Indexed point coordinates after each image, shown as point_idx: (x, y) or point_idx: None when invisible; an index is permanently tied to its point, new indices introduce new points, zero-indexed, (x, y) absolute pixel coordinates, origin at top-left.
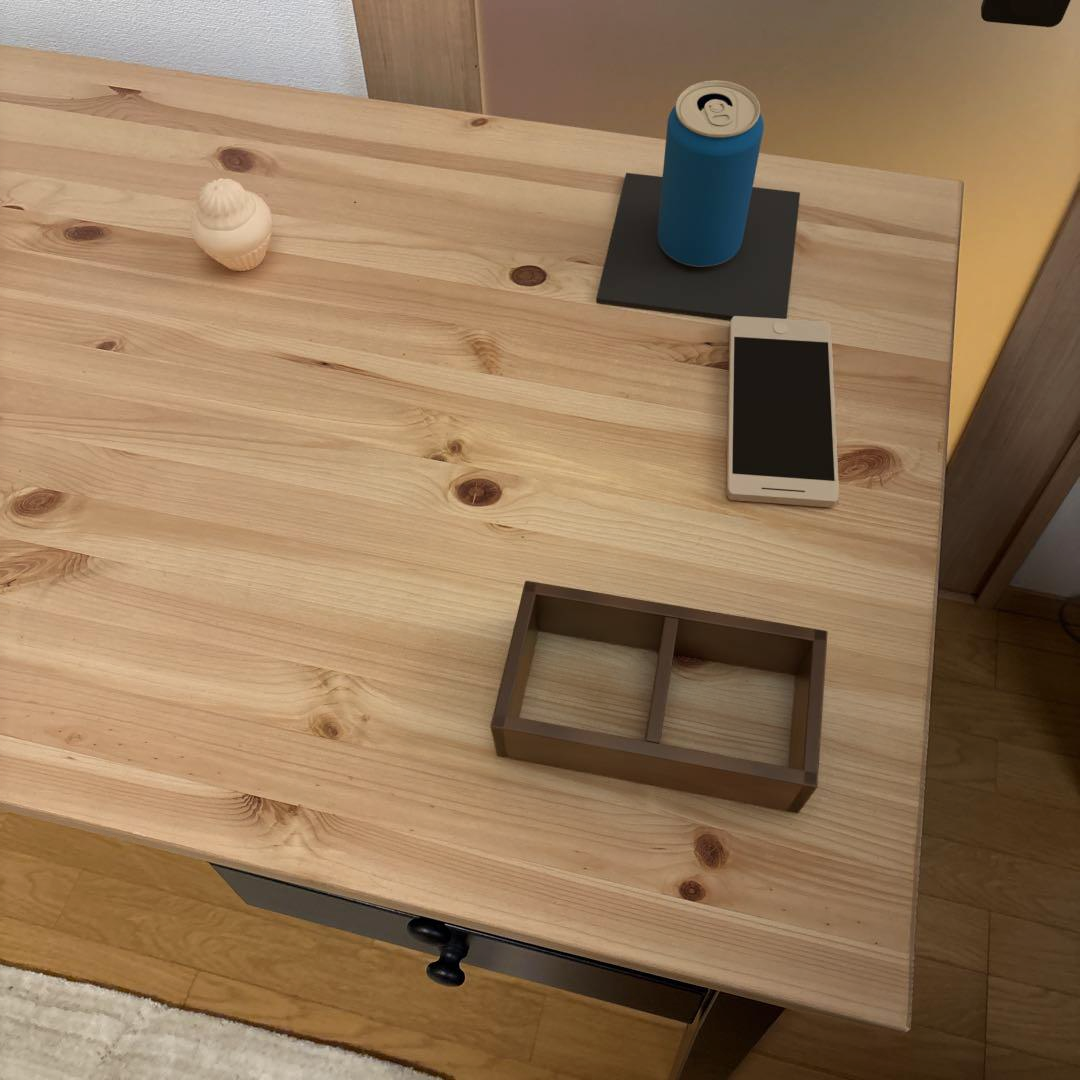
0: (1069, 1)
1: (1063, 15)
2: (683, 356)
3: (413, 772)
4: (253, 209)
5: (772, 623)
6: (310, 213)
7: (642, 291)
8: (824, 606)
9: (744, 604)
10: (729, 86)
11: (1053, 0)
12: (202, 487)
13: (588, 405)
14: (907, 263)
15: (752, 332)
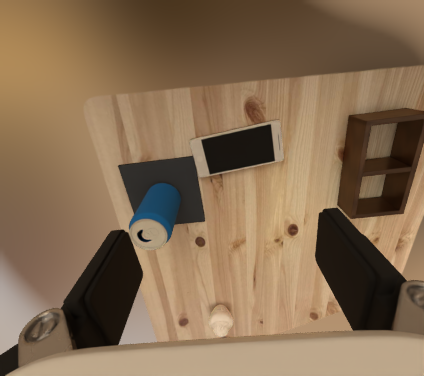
0: (346, 218)
1: (339, 210)
2: (220, 187)
3: (389, 217)
4: (219, 321)
5: (364, 141)
6: (197, 300)
7: (196, 208)
8: (322, 115)
9: (325, 143)
10: (130, 233)
11: (367, 239)
12: (303, 289)
13: (251, 210)
14: (137, 112)
15: (205, 168)
